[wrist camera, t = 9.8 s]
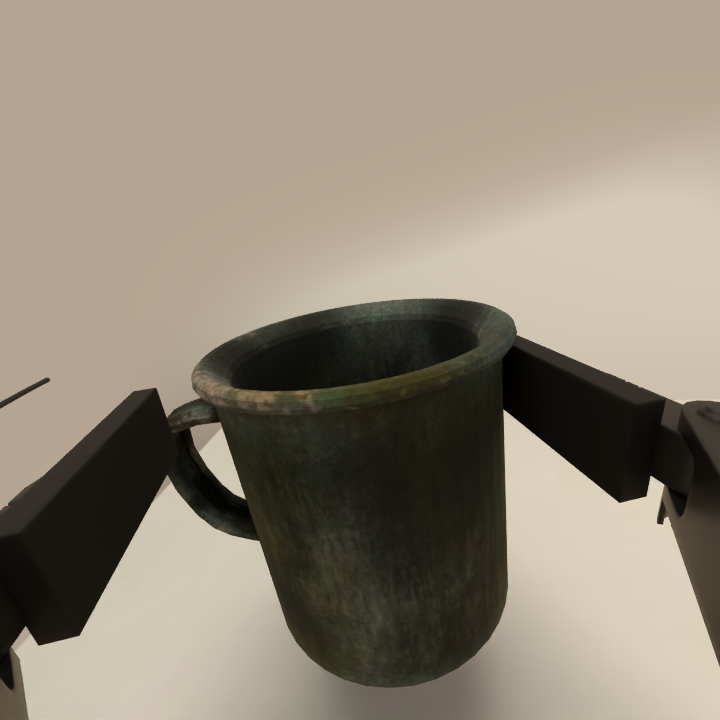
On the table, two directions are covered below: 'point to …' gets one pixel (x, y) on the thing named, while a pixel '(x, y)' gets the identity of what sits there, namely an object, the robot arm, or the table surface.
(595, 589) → the table surface
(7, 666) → the robot arm
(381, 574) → the mug
